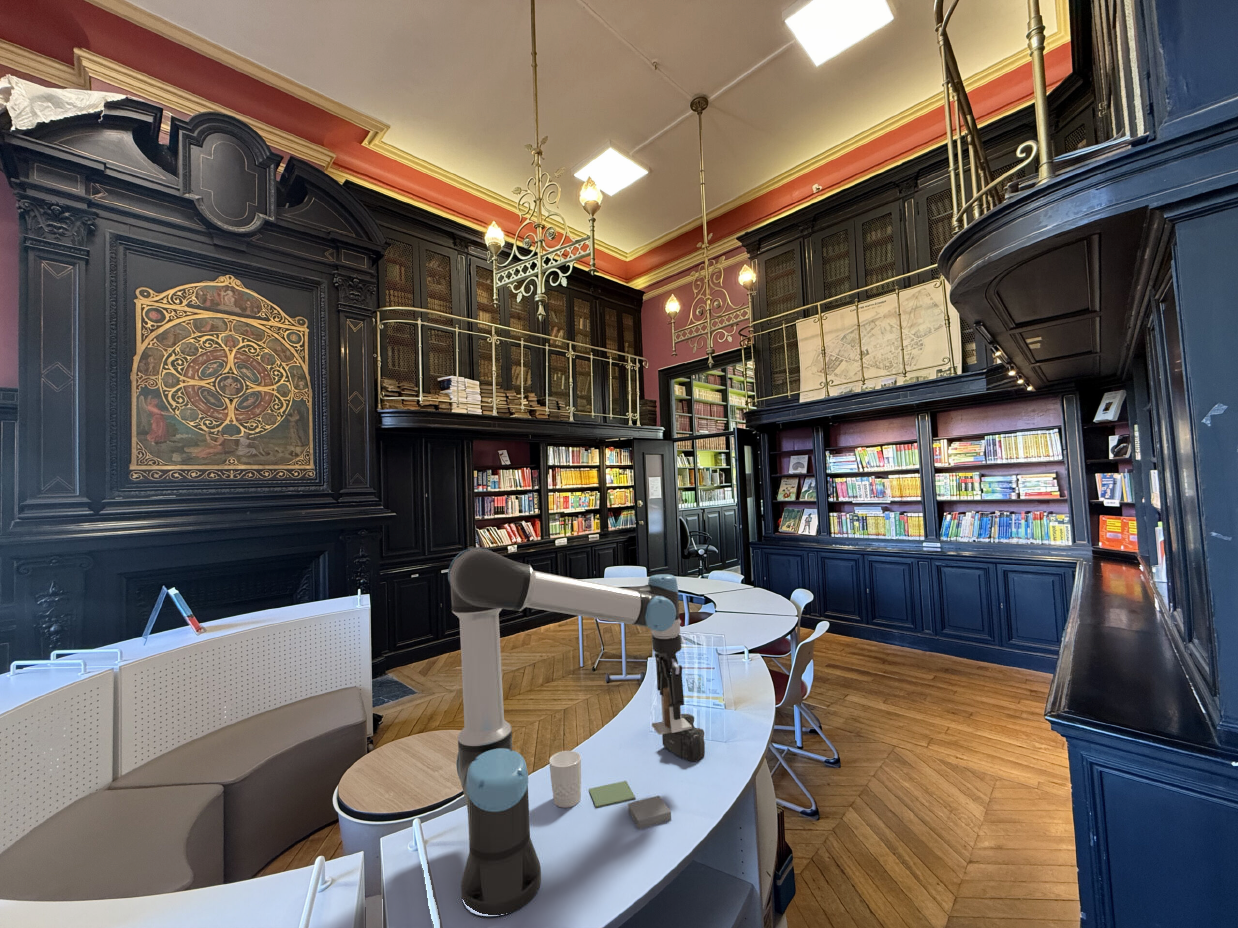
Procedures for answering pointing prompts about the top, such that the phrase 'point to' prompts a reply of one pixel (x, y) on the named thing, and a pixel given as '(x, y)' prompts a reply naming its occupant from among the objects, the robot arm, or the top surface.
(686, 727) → the wooden handled stamp
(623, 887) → the top surface
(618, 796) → the pad
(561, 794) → the white cup
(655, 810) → the tile
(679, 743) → the camera
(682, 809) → the top surface
